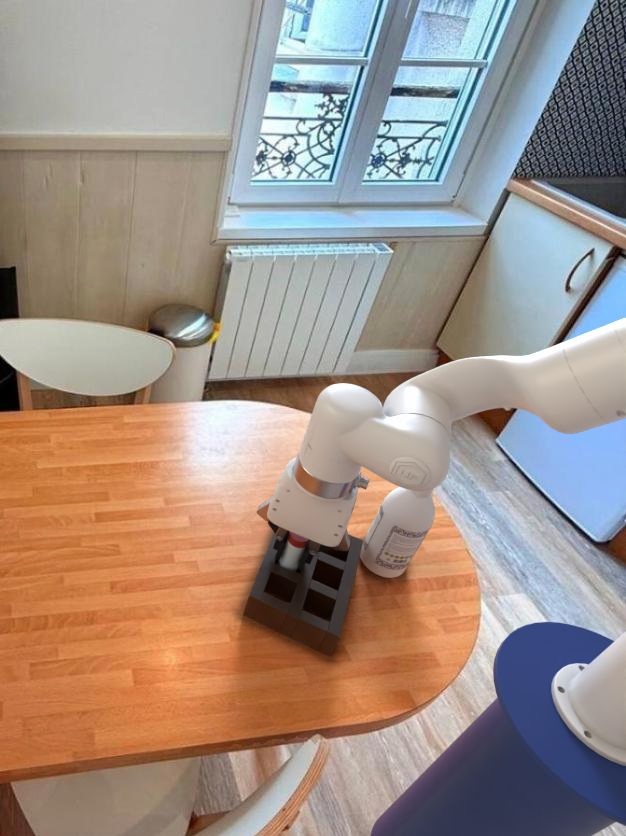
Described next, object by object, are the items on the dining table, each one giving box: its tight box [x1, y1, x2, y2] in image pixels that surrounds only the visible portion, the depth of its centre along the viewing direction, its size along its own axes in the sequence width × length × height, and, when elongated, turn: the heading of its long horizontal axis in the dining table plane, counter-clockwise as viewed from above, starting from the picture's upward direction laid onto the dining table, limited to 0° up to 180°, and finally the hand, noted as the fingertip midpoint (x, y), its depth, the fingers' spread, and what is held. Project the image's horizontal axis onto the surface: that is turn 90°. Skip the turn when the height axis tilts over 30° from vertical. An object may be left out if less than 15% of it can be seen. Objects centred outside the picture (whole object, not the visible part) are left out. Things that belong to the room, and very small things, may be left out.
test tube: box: [277, 531, 310, 572], centre depth 89 cm, size 3×3×10 cm
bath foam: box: [359, 486, 436, 579], centre depth 89 cm, size 7×7×20 cm
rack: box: [242, 532, 364, 657], centre depth 90 cm, size 12×18×5 cm
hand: (290, 556), depth 89 cm, fingers closed on test tube, 2 cm apart
